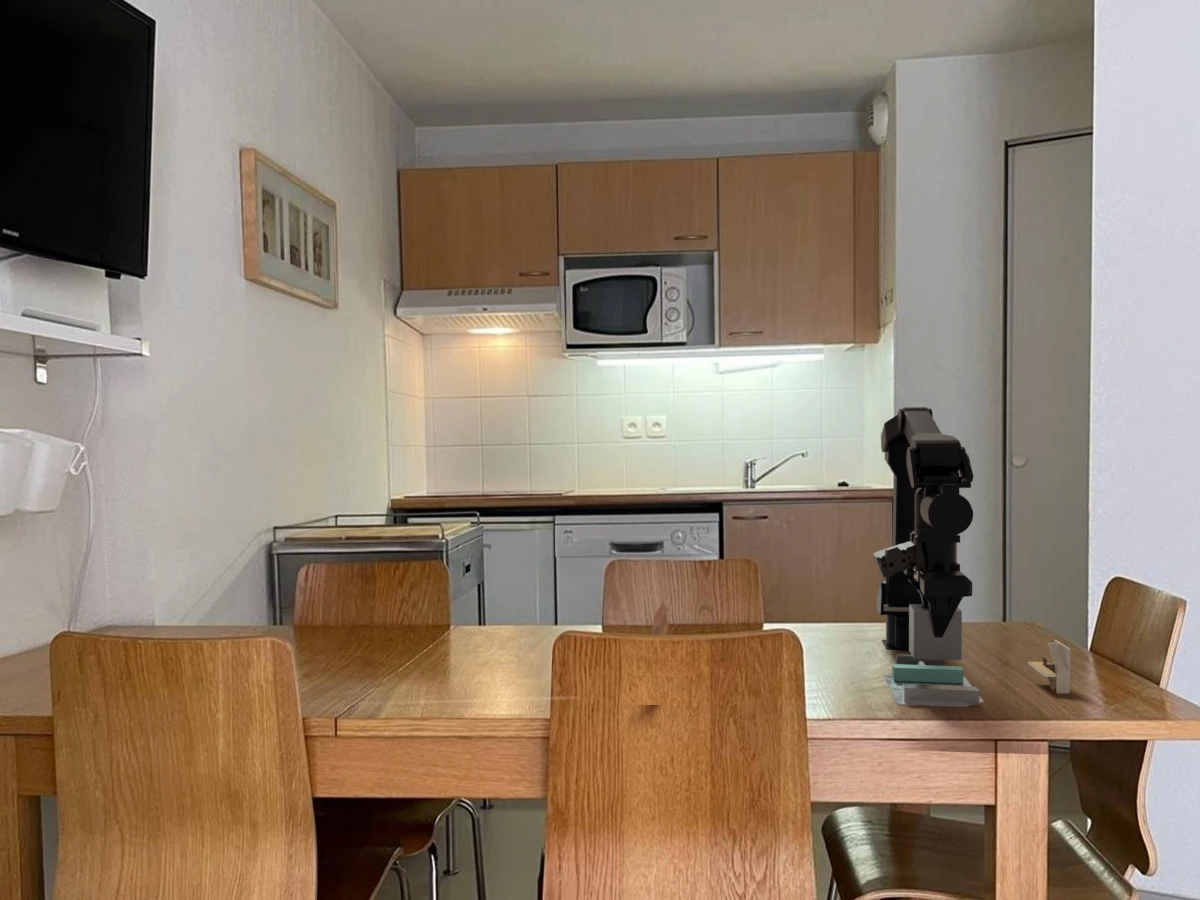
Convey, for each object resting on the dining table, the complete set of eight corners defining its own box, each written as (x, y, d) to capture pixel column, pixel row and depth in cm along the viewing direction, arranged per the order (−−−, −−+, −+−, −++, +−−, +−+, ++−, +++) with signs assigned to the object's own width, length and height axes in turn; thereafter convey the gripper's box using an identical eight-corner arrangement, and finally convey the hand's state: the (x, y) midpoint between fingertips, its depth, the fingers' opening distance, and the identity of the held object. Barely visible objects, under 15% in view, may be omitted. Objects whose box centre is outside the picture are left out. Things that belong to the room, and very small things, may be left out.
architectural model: (1045, 700, 129) (1045, 648, 129) (1028, 685, 136) (1028, 637, 136) (1070, 700, 129) (1071, 649, 128) (1051, 686, 136) (1052, 637, 135)
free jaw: (886, 666, 144) (886, 652, 144) (952, 668, 142) (952, 654, 142) (893, 680, 136) (893, 666, 136) (963, 683, 134) (963, 668, 134)
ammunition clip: (662, 697, 131) (661, 615, 131) (650, 696, 132) (649, 615, 131) (670, 676, 142) (669, 601, 141) (658, 675, 142) (657, 600, 142)
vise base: (883, 676, 140) (883, 660, 140) (964, 679, 138) (964, 663, 138) (898, 707, 125) (898, 689, 125) (988, 711, 123) (989, 693, 123)
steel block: (909, 651, 132) (909, 604, 132) (955, 652, 131) (955, 605, 131) (913, 658, 128) (913, 610, 128) (961, 660, 127) (961, 611, 127)
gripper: (869, 518, 139) (869, 617, 140) (886, 534, 121) (886, 648, 122) (944, 518, 137) (944, 619, 138) (973, 535, 119) (973, 651, 120)
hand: (935, 633), depth 129 cm, fingers closed on steel block, 4 cm apart
